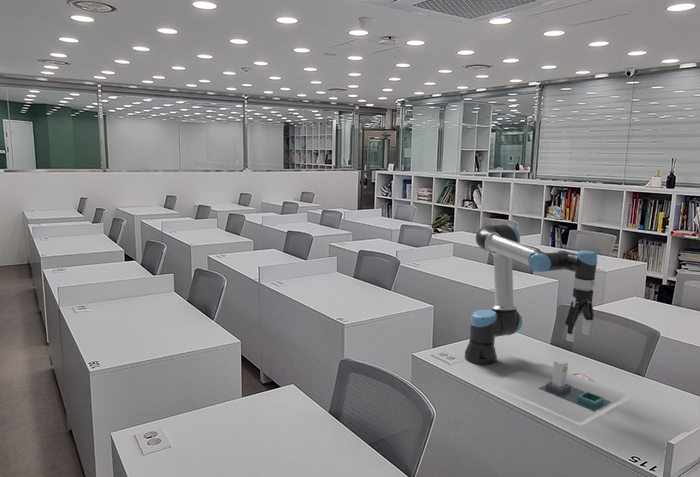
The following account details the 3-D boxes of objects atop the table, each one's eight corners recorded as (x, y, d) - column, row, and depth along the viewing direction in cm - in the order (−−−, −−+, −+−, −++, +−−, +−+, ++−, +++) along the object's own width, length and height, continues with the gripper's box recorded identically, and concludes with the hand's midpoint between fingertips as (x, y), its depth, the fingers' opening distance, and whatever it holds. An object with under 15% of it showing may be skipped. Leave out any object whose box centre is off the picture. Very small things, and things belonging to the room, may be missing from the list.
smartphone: (588, 390, 220) (567, 376, 235) (603, 389, 222) (581, 375, 236) (588, 388, 220) (567, 374, 235) (603, 387, 222) (582, 373, 236)
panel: (538, 390, 218) (538, 383, 217) (555, 382, 226) (556, 376, 226) (593, 413, 199) (594, 406, 199) (611, 404, 208) (611, 397, 207)
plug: (551, 388, 218) (554, 361, 216) (556, 385, 221) (559, 359, 219) (561, 392, 215) (564, 364, 213) (566, 389, 217) (569, 362, 215)
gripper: (578, 295, 201) (571, 346, 205) (606, 286, 218) (599, 334, 221) (559, 290, 207) (554, 341, 211) (588, 282, 223) (582, 329, 227)
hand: (577, 337), depth 216 cm, fingers open, 13 cm apart
